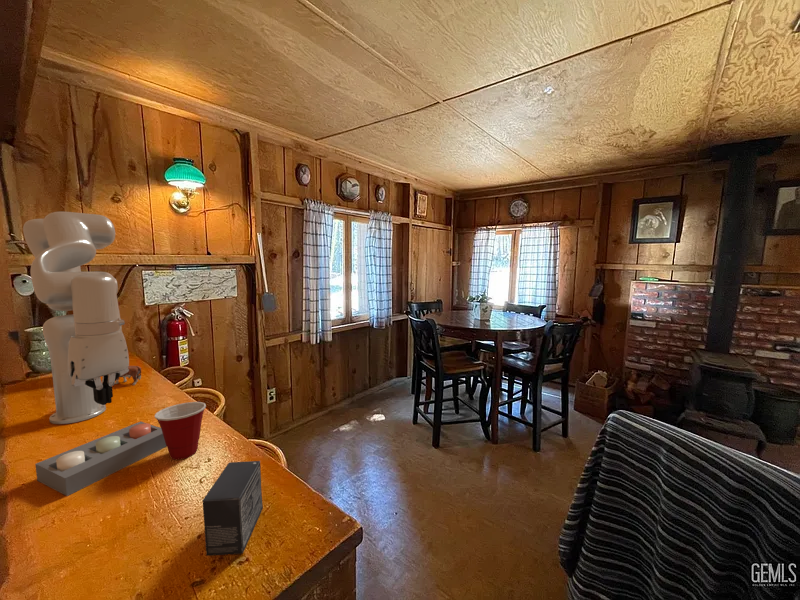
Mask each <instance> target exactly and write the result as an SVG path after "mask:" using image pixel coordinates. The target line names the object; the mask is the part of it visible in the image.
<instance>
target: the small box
mask: <svg viewBox="0 0 800 600" xmlns="http://www.w3.org/2000/svg"><path fill="white" fill-rule="evenodd" d="M262 494H263V493H262V473H261V460H253V461H251V460H250V461H249V460H248V461H231V462H228V463H227V465H226V466H225V468H224V469H223V471H222V472H221V473H220V475H219V476H218V477H217V479H216V481H215V482H214V483H213V485H212V486H211V487H210V489H209V490H208V492H207V493H206V495H205V496H204V498H203V499H202V512H203V524H204V525H203V526H204V538H205V539H204V540H205V552H206V553H205V554H206V557H207V556H229V555H228V554H230V555H242V554H243V553H244V552H245V550H246V549H247V546H248V543H249V540H250V539H251V536H252V534H253V532H254V529H255V527H256V525H257V523H258V520H259V518H260V516H261V514H262V510H263V509H264V506H263V505H264V504H263V497H262V496H263V495H262ZM241 553H242V554H241Z"/></svg>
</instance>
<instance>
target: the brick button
mask: <svg viewBox="0 0 800 600" xmlns="http://www.w3.org/2000/svg"><path fill="white" fill-rule="evenodd" d="M151 425H152V424H151V423H147V422H144V424H139V425H135V426H133V427H131V428H130V429H129V434H130V438H133V439H137V438H139V437H142V436H144V435H146V434H149V433H151Z"/></svg>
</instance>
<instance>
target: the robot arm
mask: <svg viewBox="0 0 800 600" xmlns="http://www.w3.org/2000/svg"><path fill="white" fill-rule="evenodd" d="M115 229H116V228H115V225H114V223H113V222H112V221H111V219H110V218H108V217H107V216H105V215H101V214H96V213H95V214H94V213H83V212H75V211H74V212H72V211H54V212H50V213H48V214H46V215H45V217H44V218H34V219H29V220H27V221H25V222H24V224H23V227H22V231H23V236H24V239H25V240H24V241H25V243H26V245H27V246H28V249H29V250H30V252H31V253H32V255H33V256H34V259H33V260H32V263H31V266H30V278H31V283H32V288H33V291H34V294H35V296H36V298H37V299H38V300H39V301H40V302H41V303H43V304H47V306H48V308H49V309H51V310H53V311H59V312H61V311H62V312H65V311H67V312H68V311H72V313H73V314H64V315H58V316H54V317H51V318H49V319H47V320H45V322H43V325H42V333H43V334H42V335H43V337H44V340H45V344H46V347H47V350H48V354H49V359H50V368H51V377H52V383H53V391H54V393H53V394H54V403H55V412H54V413H53V414H51V415H50V416H49V423H51V424H53V425H67V424H68V425H69V424H73V423H78V422H83V421H86V420H90V419H92V418H95V417H98V416H99V415H101V414H102V413H103V412H105V411H106V410H107V406H106V405H107V404H110V403H112V402H113V399H112V398H113V397H114V393H113V386H114V385H116V384H115V382H116V380H117V379H118V377H119V376H121V375H123V374H125V373H127V372H128V371H129V369H128V366H130V358H129V357H130V356H129V350H128V346H127V341H126V337H125V335H124V333H123V330H122V329H123V328H122V326H124V325H125V323H126V322H125V320H124V319H122V318H121V313H120V308H119V302H118V295H117V294H118V289H119V286H118V281H117V279H116V278H115V277H114V276H113V274H111V273H109V272H106V271H82V269H81V266H83V265H87V264H89V263H90V262H92V260H94V258H95V257H96V255H97V250H103V249H105V248H106V247H109V246H110V245H112V244H113V243H114V241H115V239H116V230H115ZM101 377H102V379H101ZM119 378H120V377H119Z"/></svg>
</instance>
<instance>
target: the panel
mask: <svg viewBox="0 0 800 600" xmlns="http://www.w3.org/2000/svg"><path fill="white" fill-rule="evenodd" d="M144 423H145V422H144V421H139V422H136V423H133V424H130V425H128V426H126V427H123V428H121V429H119V430H118V429H117V430H116V431H113V432H111V433H109V434H106V435H103V436H101V437H99V438H96V439H94V440H91V441H88V442H85V443H84V444H81V445H78V446H76V447H73V448H71V449H69V450H66V451H63V452H61V453H58V454H55V455H53V456H52V457H48V458H47V459H44V460H41V461H39V462H37V463H35V473H36V480H37V482H39V483H41V484H43V485H45V486H47V487H49V488H51V489H53V490H54V491H56V492H58V493H59V494H61V495H64V496H66V497H69V496H71V495H72V494H74V493H77V492H78V491H81V490H82V489H84V488H86V487H89V486H90V485H92V484H94V483H97V482H98V481H101V480H102V479H104V478H107V477H108V476H110V475H112V474H114V473H116V472H118V471H120V470H122V469H124V468H126V467H129V466H130V465H132V464H134V463H137V462H139V461H140V460H142V459H145V458H146V457H149V456H151V455H153V454H154V453H157V452H159V451H160V450H162V449H165V448H167V446H166V443H165V439H164V436H163V433H162V429H161V427H160V426H159V427H158V426H156V425H153V424H150V425H151V433H149V434H146V435H144V436H142V437H139V438H137V439H133V438H130V434H129V429H130V428H131V427H133V426H135V425H139V424H144ZM111 436H119V437H120V444H121V446H119V447H117V448H115V449H112V450H110V451H108V452H106V453H103V454H100V453H97V452H96V443H97V442H98V441H99V440H101V439H104V438H107V437H111ZM74 451H83V452H84V456H85V462H83V463H81V464H78V465H76V466H74V467H72V468H69V469H67V470H65V471H63V472H61V471H59V470H57V463H56V460H57V459H58V458H59V457H60V456H62V455H64V454H67V453H70V452H74Z"/></svg>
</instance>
